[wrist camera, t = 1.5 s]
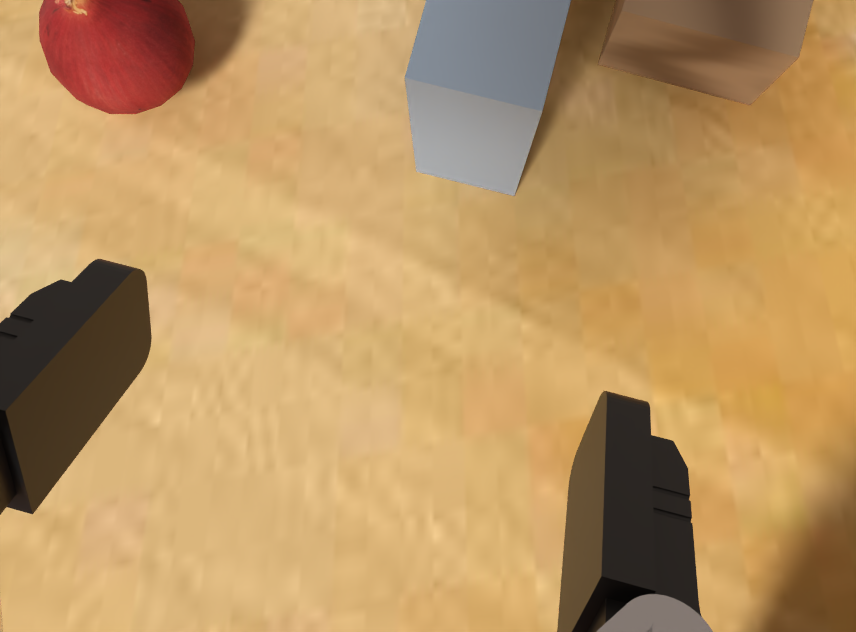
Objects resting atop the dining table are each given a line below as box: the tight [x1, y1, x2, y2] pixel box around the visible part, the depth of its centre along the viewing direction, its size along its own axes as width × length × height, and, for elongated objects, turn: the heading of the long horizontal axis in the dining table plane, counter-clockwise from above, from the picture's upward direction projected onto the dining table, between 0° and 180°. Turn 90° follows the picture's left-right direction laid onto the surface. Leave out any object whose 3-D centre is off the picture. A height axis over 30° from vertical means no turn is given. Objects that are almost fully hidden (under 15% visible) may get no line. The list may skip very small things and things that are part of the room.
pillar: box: [405, 0, 571, 196], centre depth 30 cm, size 4×4×10 cm
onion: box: [39, 0, 195, 114], centre depth 31 cm, size 6×6×8 cm
